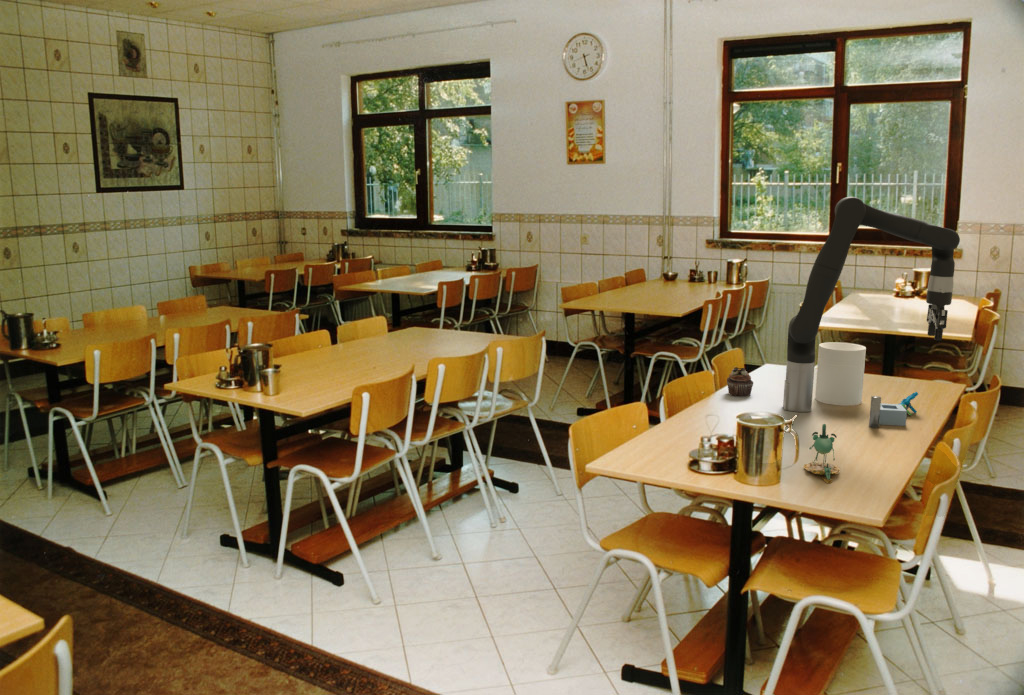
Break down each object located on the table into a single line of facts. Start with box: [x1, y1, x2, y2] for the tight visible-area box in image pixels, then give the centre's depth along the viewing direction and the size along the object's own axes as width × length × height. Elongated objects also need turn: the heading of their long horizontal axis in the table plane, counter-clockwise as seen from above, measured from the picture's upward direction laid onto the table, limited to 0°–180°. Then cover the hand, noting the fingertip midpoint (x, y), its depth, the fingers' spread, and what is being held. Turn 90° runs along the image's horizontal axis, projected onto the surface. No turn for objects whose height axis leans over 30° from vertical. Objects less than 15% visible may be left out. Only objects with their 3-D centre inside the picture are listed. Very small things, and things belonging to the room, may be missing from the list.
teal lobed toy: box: [899, 391, 919, 417], centre depth 307 cm, size 11×6×10 cm
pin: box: [868, 395, 882, 429], centre depth 288 cm, size 3×3×10 cm
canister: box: [814, 341, 867, 407], centre depth 322 cm, size 16×16×20 cm
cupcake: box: [726, 366, 754, 398], centre depth 331 cm, size 10×10×10 cm
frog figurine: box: [803, 423, 841, 484], centre depth 243 cm, size 10×18×15 cm, turn 157°
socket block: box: [879, 402, 908, 427], centre depth 295 cm, size 9×9×5 cm
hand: (934, 337), depth 296 cm, fingers open, 8 cm apart
